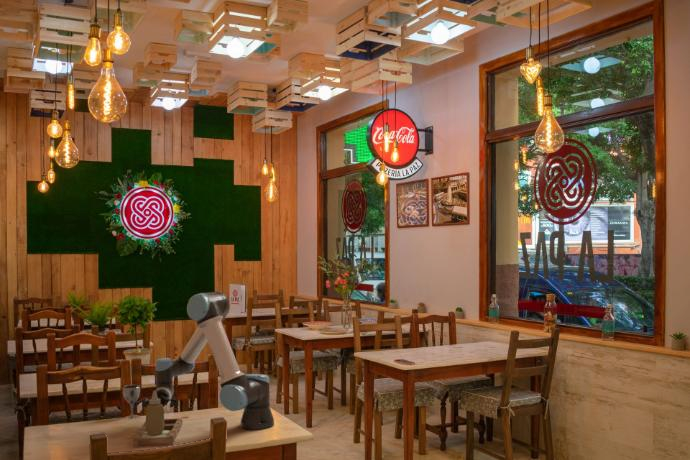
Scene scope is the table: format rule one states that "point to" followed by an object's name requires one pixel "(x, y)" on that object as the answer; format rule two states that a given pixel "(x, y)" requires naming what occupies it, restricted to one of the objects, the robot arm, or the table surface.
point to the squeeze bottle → (154, 416)
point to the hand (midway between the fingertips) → (153, 408)
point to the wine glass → (131, 397)
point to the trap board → (165, 438)
